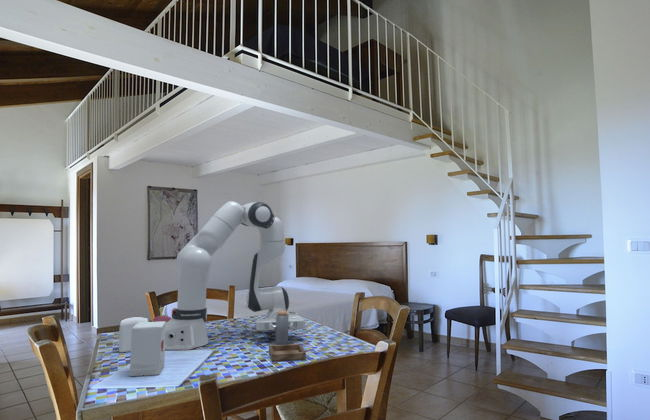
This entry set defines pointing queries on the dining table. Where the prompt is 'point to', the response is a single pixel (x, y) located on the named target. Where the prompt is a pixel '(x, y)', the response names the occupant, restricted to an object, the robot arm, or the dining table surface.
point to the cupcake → (161, 317)
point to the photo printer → (127, 332)
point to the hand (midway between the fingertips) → (282, 327)
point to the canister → (282, 327)
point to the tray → (287, 352)
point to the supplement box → (147, 348)
